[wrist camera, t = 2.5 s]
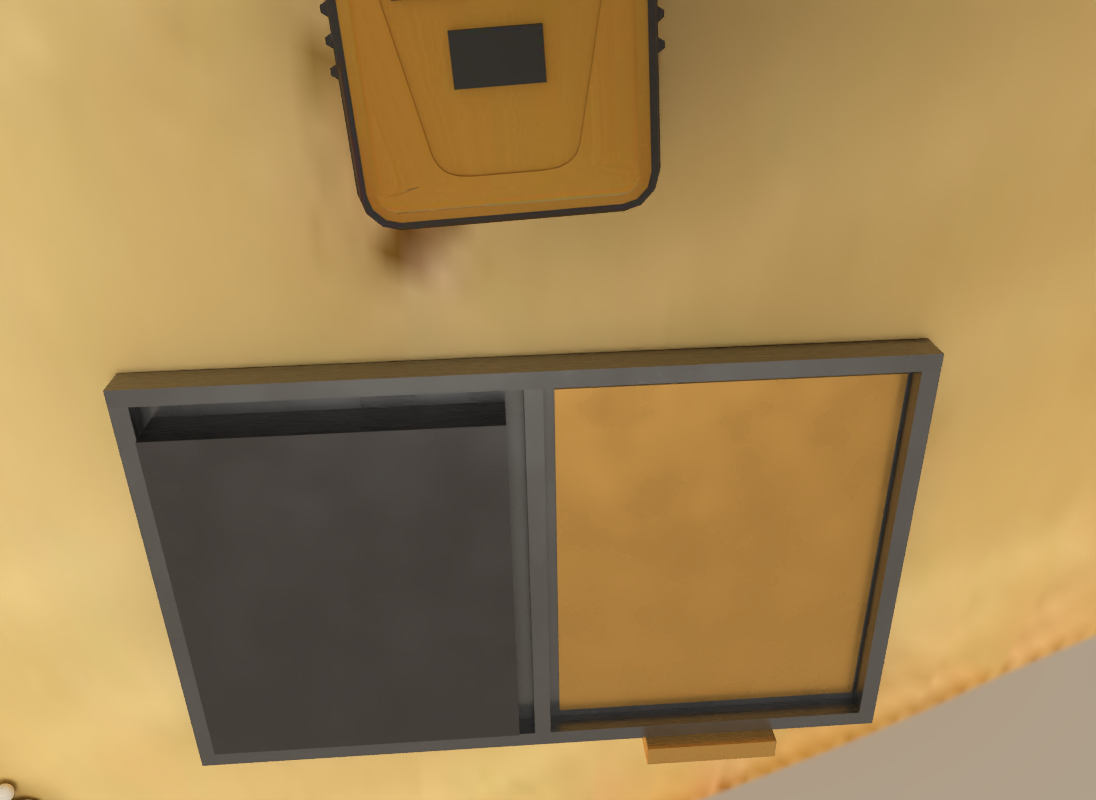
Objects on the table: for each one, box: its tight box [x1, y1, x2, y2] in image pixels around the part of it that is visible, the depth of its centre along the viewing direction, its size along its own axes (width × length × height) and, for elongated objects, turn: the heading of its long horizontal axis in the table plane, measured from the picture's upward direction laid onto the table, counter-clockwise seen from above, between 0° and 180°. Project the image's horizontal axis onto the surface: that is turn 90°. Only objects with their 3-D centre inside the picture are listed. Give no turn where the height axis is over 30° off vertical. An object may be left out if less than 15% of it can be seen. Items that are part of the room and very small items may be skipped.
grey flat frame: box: [103, 339, 944, 766], centre depth 33 cm, size 17×26×2 cm, turn 91°
